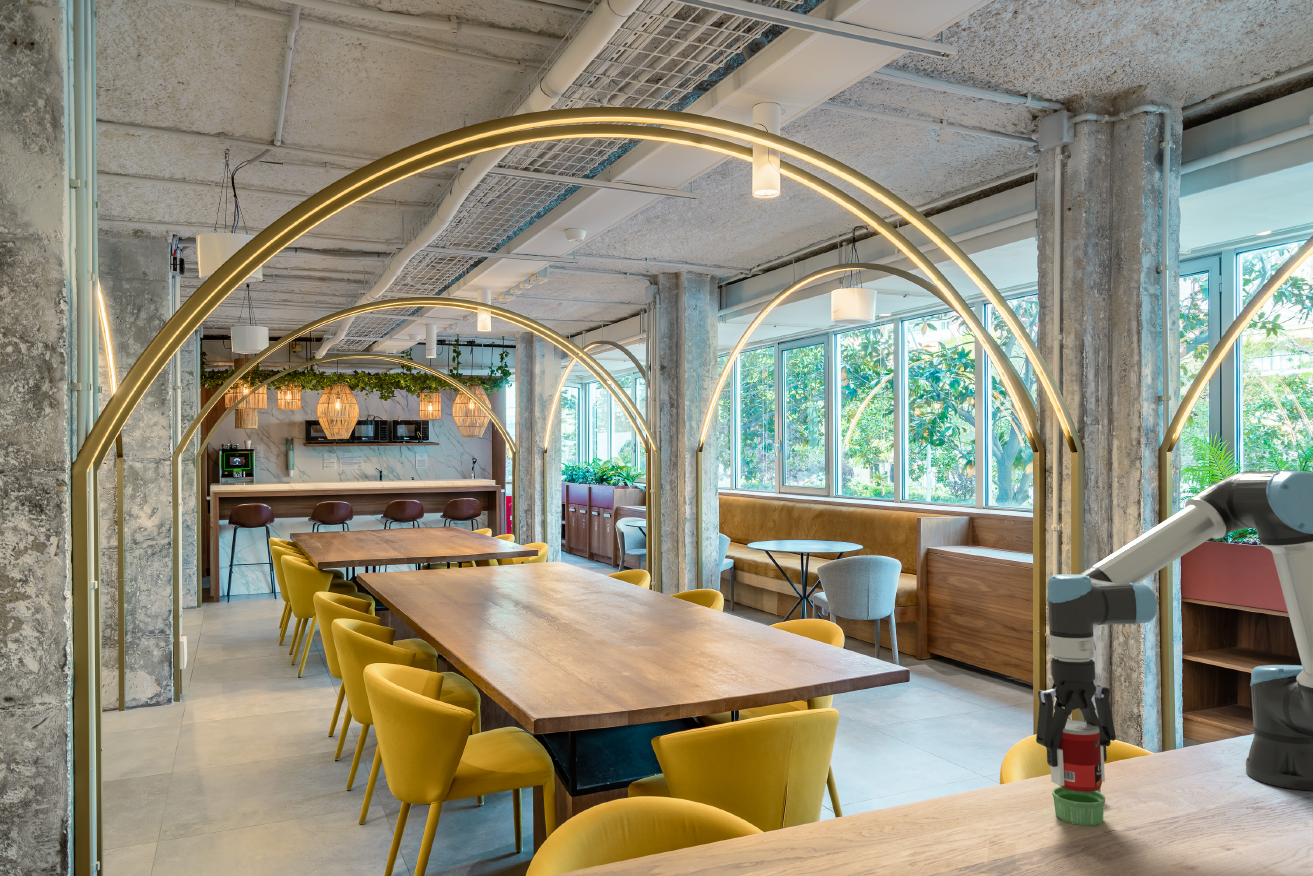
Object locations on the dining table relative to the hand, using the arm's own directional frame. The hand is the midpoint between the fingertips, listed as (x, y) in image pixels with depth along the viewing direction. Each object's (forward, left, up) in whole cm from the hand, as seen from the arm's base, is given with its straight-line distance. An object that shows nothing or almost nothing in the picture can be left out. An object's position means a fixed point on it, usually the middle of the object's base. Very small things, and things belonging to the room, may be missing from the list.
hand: (1078, 781), depth 165 cm
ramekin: (0, 0, -7) cm, 7 cm away
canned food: (0, 0, -1) cm, 1 cm away
